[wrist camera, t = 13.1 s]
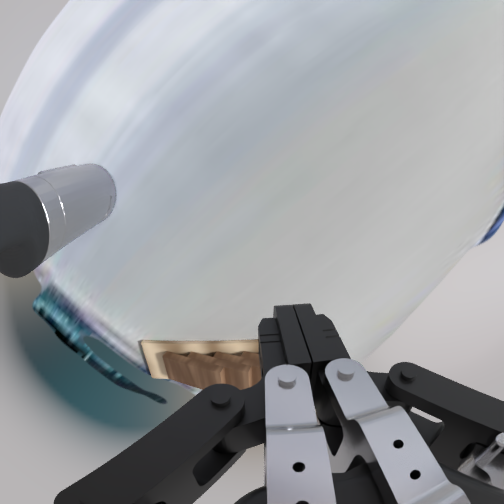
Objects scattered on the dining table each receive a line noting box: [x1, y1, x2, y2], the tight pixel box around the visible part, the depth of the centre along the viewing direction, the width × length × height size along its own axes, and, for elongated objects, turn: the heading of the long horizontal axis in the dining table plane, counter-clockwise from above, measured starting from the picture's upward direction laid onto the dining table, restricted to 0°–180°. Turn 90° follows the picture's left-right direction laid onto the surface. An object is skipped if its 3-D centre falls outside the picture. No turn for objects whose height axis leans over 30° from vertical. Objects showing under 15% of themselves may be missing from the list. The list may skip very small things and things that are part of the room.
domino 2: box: [187, 351, 252, 390], centre depth 45 cm, size 2×6×11 cm
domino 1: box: [162, 351, 226, 389], centre depth 45 cm, size 2×6×11 cm
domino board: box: [141, 339, 259, 379], centre depth 48 cm, size 24×9×1 cm, turn 91°
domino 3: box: [213, 351, 261, 386], centre depth 45 cm, size 2×6×11 cm
